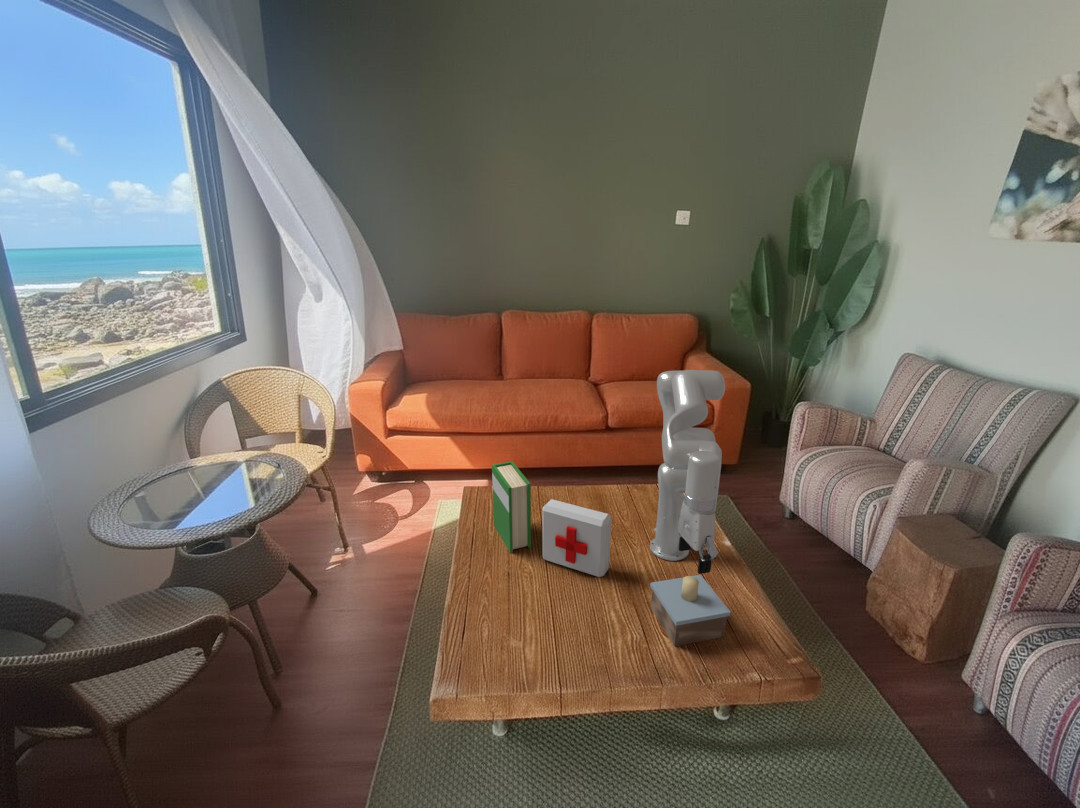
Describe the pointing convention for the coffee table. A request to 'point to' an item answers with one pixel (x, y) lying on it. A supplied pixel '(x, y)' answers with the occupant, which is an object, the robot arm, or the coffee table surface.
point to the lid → (689, 600)
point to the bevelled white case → (576, 537)
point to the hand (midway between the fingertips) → (693, 560)
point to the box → (687, 626)
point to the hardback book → (511, 505)
